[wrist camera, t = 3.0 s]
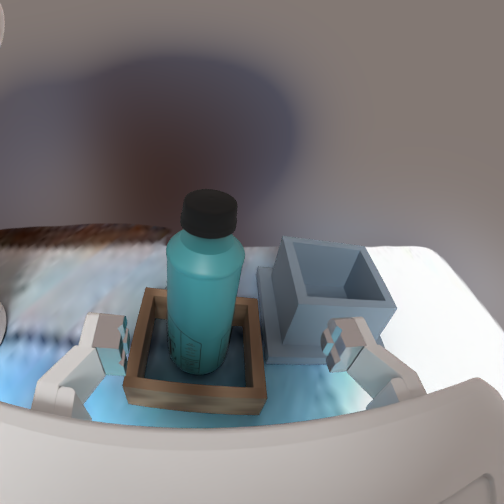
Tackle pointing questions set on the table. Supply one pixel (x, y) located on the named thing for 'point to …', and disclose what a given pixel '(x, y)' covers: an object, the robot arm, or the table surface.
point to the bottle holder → (317, 297)
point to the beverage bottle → (203, 281)
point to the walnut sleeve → (194, 394)
